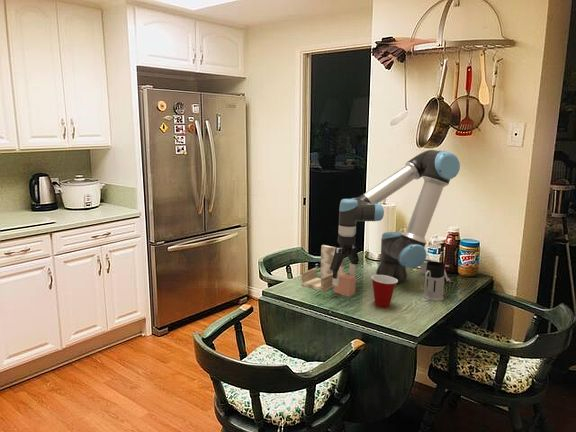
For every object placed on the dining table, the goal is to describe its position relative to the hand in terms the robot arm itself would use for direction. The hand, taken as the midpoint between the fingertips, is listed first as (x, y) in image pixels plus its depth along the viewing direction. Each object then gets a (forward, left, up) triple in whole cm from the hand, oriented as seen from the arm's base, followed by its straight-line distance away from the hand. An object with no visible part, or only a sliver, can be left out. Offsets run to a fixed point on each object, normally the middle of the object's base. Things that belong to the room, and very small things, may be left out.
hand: (343, 281), depth 205 cm
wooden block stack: (+14, -4, -5) cm, 15 cm away
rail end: (0, 0, -5) cm, 5 cm away
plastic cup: (-20, +2, -5) cm, 21 cm away
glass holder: (-32, -19, -5) cm, 38 cm away
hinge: (-22, -47, -6) cm, 53 cm away
